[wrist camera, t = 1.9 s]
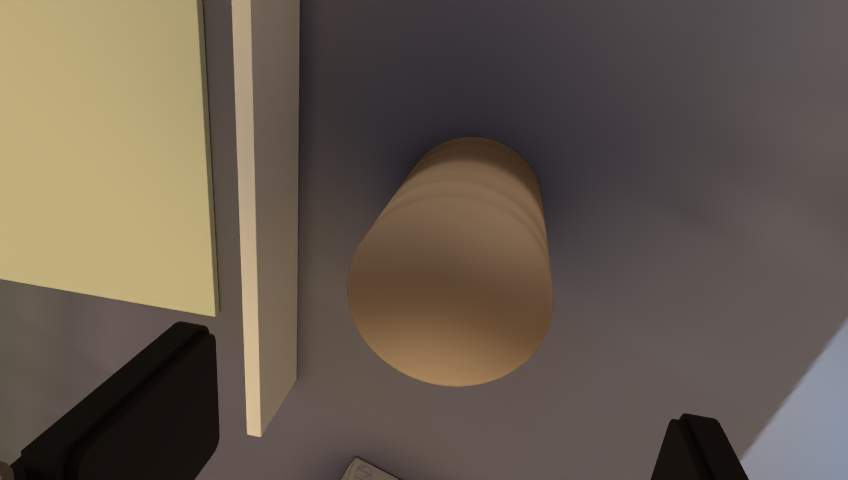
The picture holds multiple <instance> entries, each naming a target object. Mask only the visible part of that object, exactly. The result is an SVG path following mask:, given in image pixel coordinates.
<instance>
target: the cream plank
mask: <svg viewBox="0 0 848 480" xmlns="http://www.w3.org/2000/svg"><path fill="white" fill-rule="evenodd" d="M232 24H233V52H234V80H235V108H236V135H237V163H238V191H239V219H240V246H241V274H242V302H243V330H244V358H245V385H246V413H247V434H248V435H253V436H258V437H261V436H262V435H263V433H264V431H265V430H266V428H267V426H268V425H269V423H270V422H271V420H272V418H273V417H274V415H275V413H276V412H277V410H278V409H279V407H280V405H281V404H282V402H283V401H284V399H285V397H286V396H287V394H288V392H289V391H290V389H291V388H292V386H293V384H294V383H295V381H296V379H297V275H298V155H299V34H300V0H232Z"/></svg>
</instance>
